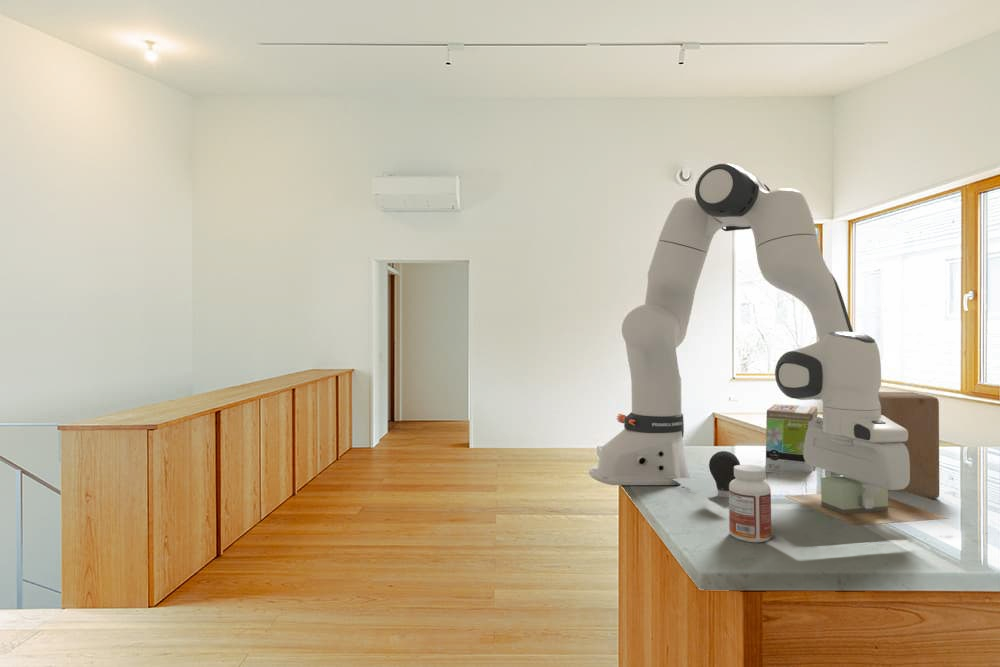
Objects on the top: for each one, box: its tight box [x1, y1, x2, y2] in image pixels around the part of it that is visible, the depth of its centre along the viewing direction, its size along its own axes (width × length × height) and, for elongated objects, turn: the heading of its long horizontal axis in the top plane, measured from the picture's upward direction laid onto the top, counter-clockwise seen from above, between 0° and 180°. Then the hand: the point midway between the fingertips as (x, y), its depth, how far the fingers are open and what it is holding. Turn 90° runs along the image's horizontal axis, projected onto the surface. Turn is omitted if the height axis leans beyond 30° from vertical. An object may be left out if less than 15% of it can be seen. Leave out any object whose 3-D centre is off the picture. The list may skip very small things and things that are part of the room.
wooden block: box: [878, 391, 940, 500], centre depth 117 cm, size 10×10×20 cm
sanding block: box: [820, 475, 889, 514], centre depth 102 cm, size 9×5×5 cm, turn 101°
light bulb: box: [708, 450, 741, 499], centre depth 110 cm, size 6×6×10 cm
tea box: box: [765, 403, 818, 474], centre depth 137 cm, size 15×10×15 cm
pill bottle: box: [728, 464, 772, 543], centre depth 92 cm, size 6×6×11 cm
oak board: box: [785, 493, 950, 526], centre depth 103 cm, size 18×17×2 cm
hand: (851, 502), depth 102 cm, fingers closed on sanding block, 5 cm apart
